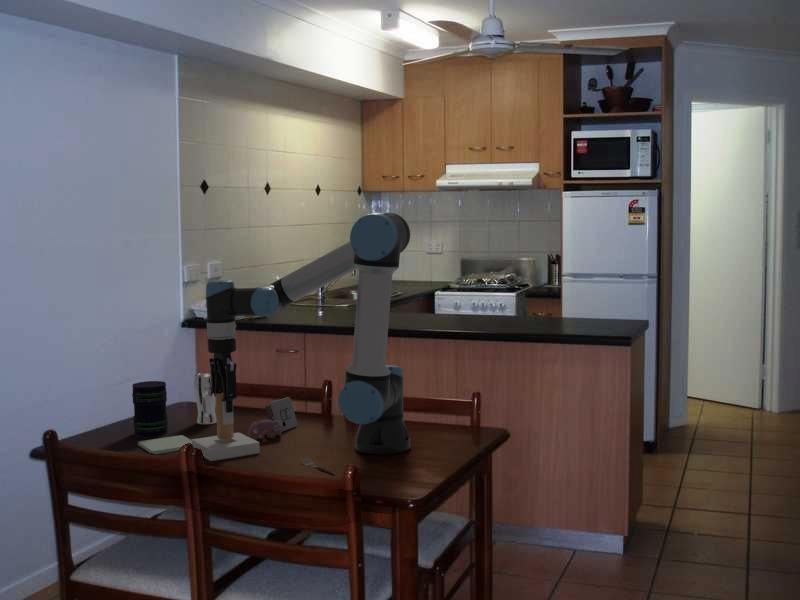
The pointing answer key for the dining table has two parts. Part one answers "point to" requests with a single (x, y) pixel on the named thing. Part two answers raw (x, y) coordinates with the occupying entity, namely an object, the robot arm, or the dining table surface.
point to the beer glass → (204, 399)
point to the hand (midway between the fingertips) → (224, 422)
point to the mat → (164, 444)
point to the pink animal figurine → (265, 429)
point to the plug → (222, 429)
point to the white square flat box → (226, 446)
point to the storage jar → (150, 409)
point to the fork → (316, 466)
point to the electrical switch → (282, 413)
